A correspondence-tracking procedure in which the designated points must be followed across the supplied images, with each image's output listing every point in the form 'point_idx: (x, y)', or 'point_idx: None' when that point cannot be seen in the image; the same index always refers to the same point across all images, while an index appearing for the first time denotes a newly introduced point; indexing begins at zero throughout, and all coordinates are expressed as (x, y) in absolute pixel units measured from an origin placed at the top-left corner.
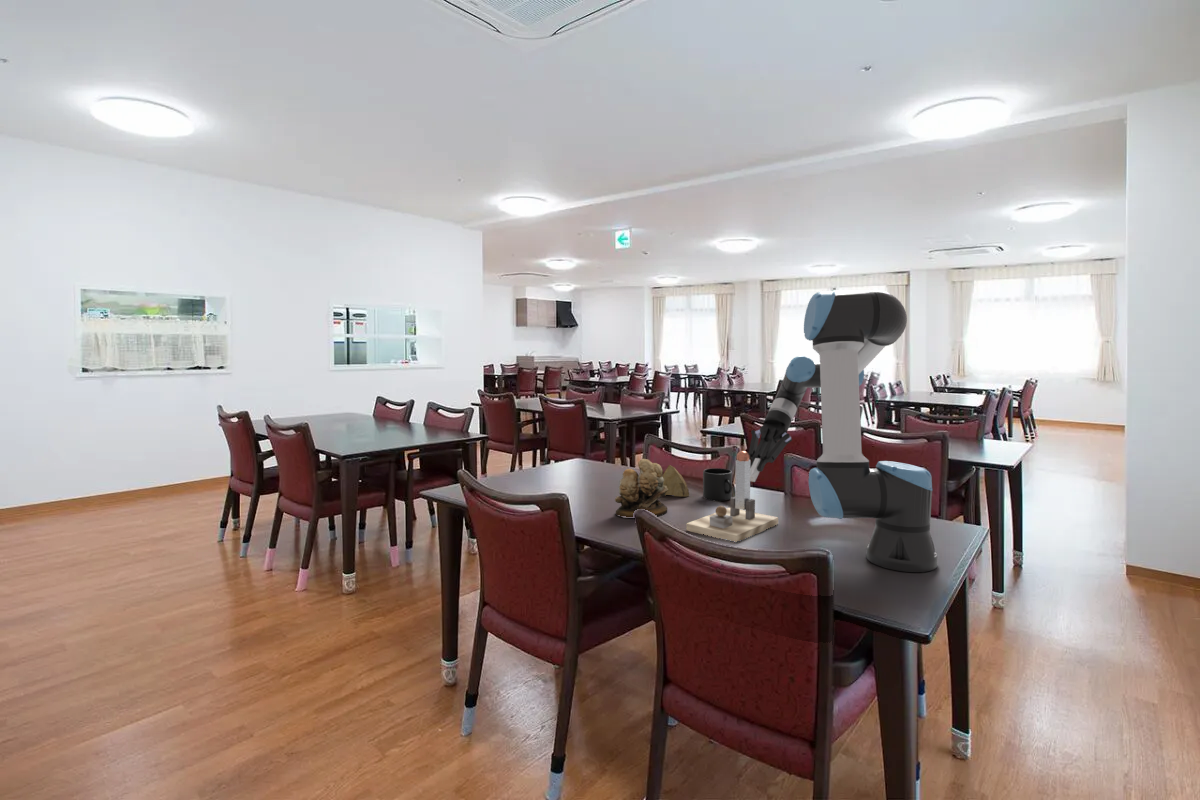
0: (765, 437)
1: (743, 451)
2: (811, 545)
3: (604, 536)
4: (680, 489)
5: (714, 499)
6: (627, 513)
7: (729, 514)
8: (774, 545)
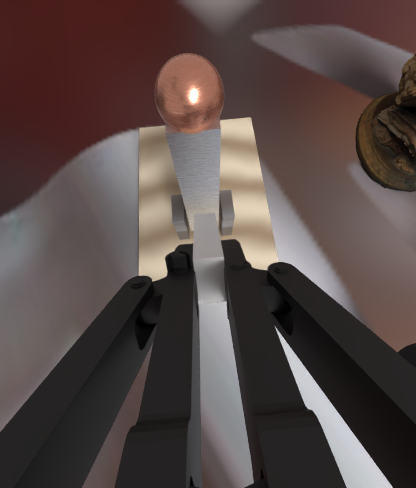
0: (264, 471)
1: (178, 58)
2: (33, 215)
3: (308, 36)
4: None
5: (404, 348)
6: (383, 96)
7: (236, 218)
8: (87, 171)
